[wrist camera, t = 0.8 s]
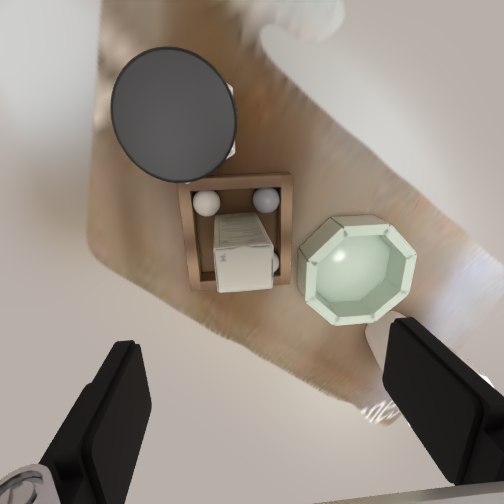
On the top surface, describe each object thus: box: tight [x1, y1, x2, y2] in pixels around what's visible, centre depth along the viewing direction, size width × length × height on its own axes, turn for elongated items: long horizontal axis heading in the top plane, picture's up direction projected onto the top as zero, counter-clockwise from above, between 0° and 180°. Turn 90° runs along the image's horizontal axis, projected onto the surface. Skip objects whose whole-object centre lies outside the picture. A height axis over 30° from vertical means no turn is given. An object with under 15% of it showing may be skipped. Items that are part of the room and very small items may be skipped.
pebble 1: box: [193, 190, 220, 217], centre depth 31 cm, size 3×3×3 cm
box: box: [213, 213, 274, 293], centre depth 29 cm, size 5×4×11 cm
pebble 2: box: [253, 187, 280, 213], centre depth 32 cm, size 3×3×3 cm
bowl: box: [297, 215, 417, 326], centre depth 35 cm, size 13×13×4 cm
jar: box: [111, 47, 237, 184], centre depth 24 cm, size 9×8×12 cm
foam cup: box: [365, 311, 494, 427], centre depth 36 cm, size 10×9×13 cm
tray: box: [177, 172, 293, 291], centre depth 33 cm, size 13×12×2 cm
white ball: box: [273, 252, 279, 273], centre depth 34 cm, size 3×3×3 cm
